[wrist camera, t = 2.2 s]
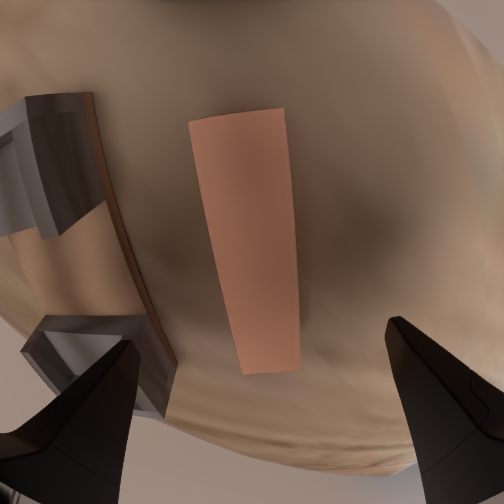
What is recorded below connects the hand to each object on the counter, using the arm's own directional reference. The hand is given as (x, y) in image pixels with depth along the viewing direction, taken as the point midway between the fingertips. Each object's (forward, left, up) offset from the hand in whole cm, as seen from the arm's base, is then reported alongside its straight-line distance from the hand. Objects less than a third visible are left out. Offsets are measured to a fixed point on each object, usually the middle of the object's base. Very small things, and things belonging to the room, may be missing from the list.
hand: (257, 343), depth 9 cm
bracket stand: (+13, 0, -8) cm, 15 cm away
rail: (0, 0, -8) cm, 8 cm away
